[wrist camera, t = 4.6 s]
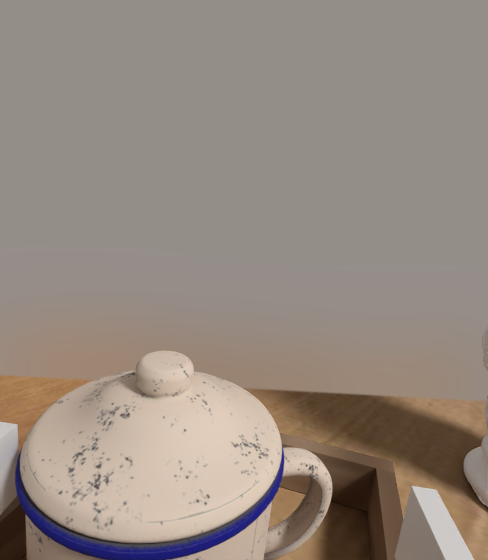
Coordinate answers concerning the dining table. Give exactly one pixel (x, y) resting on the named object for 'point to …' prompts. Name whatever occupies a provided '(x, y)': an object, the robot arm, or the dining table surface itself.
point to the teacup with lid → (162, 471)
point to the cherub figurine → (479, 450)
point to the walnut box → (345, 490)
